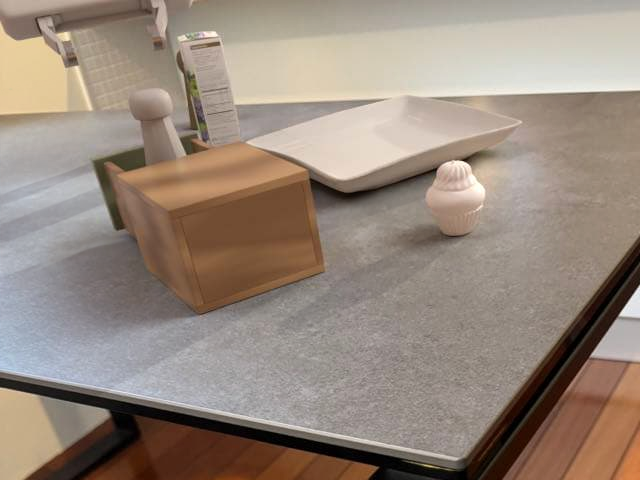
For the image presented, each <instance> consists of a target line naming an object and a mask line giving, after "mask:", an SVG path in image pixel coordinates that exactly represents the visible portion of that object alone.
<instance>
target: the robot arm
mask: <svg viewBox="0 0 640 480" xmlns="http://www.w3.org/2000/svg"><path fill="white" fill-rule="evenodd" d="M193 2H194V0H0V24H1V27H2V29H3V32H4V33H5V34H6V35H7V36H8V37H10V38H11V39H13V40H14V41H16V42H18V41H24V40H29V39H36V38H40V37H42V38H43V40H44V43H45V45H47V46H48V47H49V49H52V51H54V52H55V53H56V54H57V55H58V56H60V58H61V61H62V63H63V66H64V68H65V69H68V68H69V69H70V68H73V67H78V66H80V63H79V60H78V57H77V54H76V51H75V47H74V45H73V43H72V40H64V41H63V40H62V39H61V38H60V36H58V35H57V34H63V33H69V32H73V31H79V30H85V29H91V28H96V27H103V26H109V25H113V24H114V25H115V24H119V23H125V22H129V21H134V20H142V19H147V18H152V17H153V20H154V24H151V25H147V30H148V35H149V40H150V42H151V45H152V47H153V51H154V52H158V51H164V50H168V49H169V46H168V39H167V36H166V29H167V27H168V22H169V19H168V15H169V14H174V13H180V12H185V11H189V10H190V9H191V7H192V5H193Z"/></svg>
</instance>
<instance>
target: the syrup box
mask: <svg viewBox="0 0 640 480" xmlns="http://www.w3.org/2000/svg"><path fill="white" fill-rule="evenodd" d="M177 44H178V47H179V51H180V53H181V57H182V61H183V66H184V70H185V75H186V79H187V84H188V88H189V93H190V97H191V101H192V105H193V109H194V113H195V118H196V122H197V126H198V130H197V131H198V133H199V138H200V140H201V141H203V142H205V143H207V144H209V145H211V146H213V147H220V146H224V145H227V144H231V143H235V142H238V141H242V142H243V138H242V131H241V127H240V122H239V118H238V113H237V108H236V104H235V103H236V102H235V98H234V93H233V90H232V83H231V79H230V75H229V69H228V64H227V61H226V56H225V51H224V46H223V42H222V37H221V36H220V34H219V33H217V32H216V31H214V30H213V31H212V30H211V31H208V30H207V31H197V32H190V33H186V34H182V35H180V36H177Z"/></svg>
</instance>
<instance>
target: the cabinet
mask: <svg viewBox="0 0 640 480" xmlns="http://www.w3.org/2000/svg"><path fill="white" fill-rule="evenodd" d="M116 176H117V180H118V183H119V186H120V189H121V192H122V195H123V198H124V201H125V204H126V207H127V210H128V213H129V216H130V219H131V222H132V225H133V228H134V231H135V235H136V238H137V239H136V238H135V239H136V241H137V244H138V247H139V250H140V252H141V256H142V259H143V262H144V264H145V267H146V270H148V271H149V272H150V273H151V274H152V275H153V276H154V277H156V278H157V279H158V281H160V282H161V283H162V284H164V286H166V287H167V288H168V289H169V290H170V291H172V292H173V293H174V295H176V296H177V297H178V298H179V299H181V300H182V302H183V303H185V304H186V305H187V306H189V307H190V309H192V310H193V311H194V312H195V313H196V314H197V315H203V314H206V313H208V312H211V311H214V310H217V309H220V308H223V307H226V306H230V305H232V304H234V303H237V302H240V301H243V300H246V299H249V298H251V297H255V296H257V295H260V294H263V293H267V292H269V291H272V290H275V289H279V288H280V287H284V286H287V285H289V284H292V283H295V282H298V281H300V280H304V279H306V278H310V277H313V276H316V275H318V274H321V273H323V272H326V267H325V259H324V255H323V254H324V253H323V248H322V242H321V237H320V232H319V227H318V226H319V225H318V221H317V215H316V209H315V203H314V198H313V192H312V187H311V181H310V178H309V175H308V170H307V169H304V168H302V167H300V166H297V165H295V164H293V163H290V162H288V161H286V160H284V159H281V158H279V157H277V156H274V155H272V154H270V153H267V152H265V151H263V150H260V149H258V148H256V147H254V146H251V145H249V144H247V143H245V141H243V140H242V141H238V142H235V143H231V144H227V145H224V146H220V147H216V148H213V149H209V150H205V151H202V152H198V153H194V154H191V155H187V156H183V157H180V158H176V159H172V160H169V161H165V162H161V163H158V164H154V165H150V166H147V167H143V168H139V169H135V170H132V171H128V172H124V173H121V174H117V175H116Z"/></svg>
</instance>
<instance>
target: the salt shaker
mask: <svg viewBox="0 0 640 480" xmlns="http://www.w3.org/2000/svg"><path fill="white" fill-rule="evenodd" d="M128 106H129V110H130V113H131V115H132V117H133V119H134V120H135V121H139V122H140V128H141V136H142V143H143V144H142V145H144V151H145V159H146V167H147V166H150V165H154V164H158V163H161V162H165V161H169V160H172V159H176V158H180V157H183V156H187V155H186V153H185V151H184V148H183V146H182V144H181V141H180V139H179V137H178V135H179V134H178V132H177V130H176V128H175V125H174V123H173V121H172V118H171V116H170V115H171V114H172V113H173V112H174V106H173V101H172V98H171V96H170V94H169V93H168V92H167V91H166V90H165V89H163V88H157V87H154V88H145V89H142V90H141V89H140V90H138V91H136V92H134V93H132V94H131V95H130V96H129V98H128Z"/></svg>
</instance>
